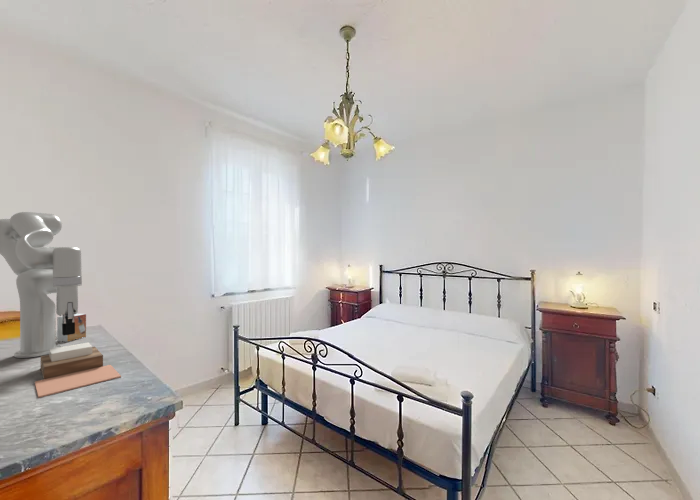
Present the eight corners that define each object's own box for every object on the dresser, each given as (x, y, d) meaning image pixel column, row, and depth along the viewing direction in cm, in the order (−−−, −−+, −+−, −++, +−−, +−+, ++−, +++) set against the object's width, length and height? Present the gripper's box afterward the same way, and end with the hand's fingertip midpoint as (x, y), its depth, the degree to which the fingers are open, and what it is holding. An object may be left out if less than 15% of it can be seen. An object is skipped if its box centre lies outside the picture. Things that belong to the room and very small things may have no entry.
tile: (49, 356, 103) (49, 349, 103) (88, 349, 110) (88, 342, 110) (51, 361, 98) (51, 353, 98) (92, 353, 106) (92, 346, 106)
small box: (67, 342, 132) (67, 317, 132) (56, 341, 133) (56, 316, 133) (86, 337, 140) (86, 313, 140) (76, 336, 141) (76, 313, 141)
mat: (34, 382, 92) (34, 381, 92) (110, 365, 105) (110, 364, 105) (38, 397, 83) (38, 396, 83) (121, 377, 96) (121, 375, 96)
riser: (40, 368, 103) (40, 356, 103) (94, 357, 113) (94, 346, 113) (44, 380, 94) (44, 367, 94) (103, 367, 104) (103, 355, 104)
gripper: (50, 282, 112) (51, 333, 112) (55, 284, 102) (56, 340, 102) (78, 280, 118) (79, 329, 118) (85, 282, 108) (86, 335, 108)
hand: (68, 334), depth 110 cm, fingers closed
